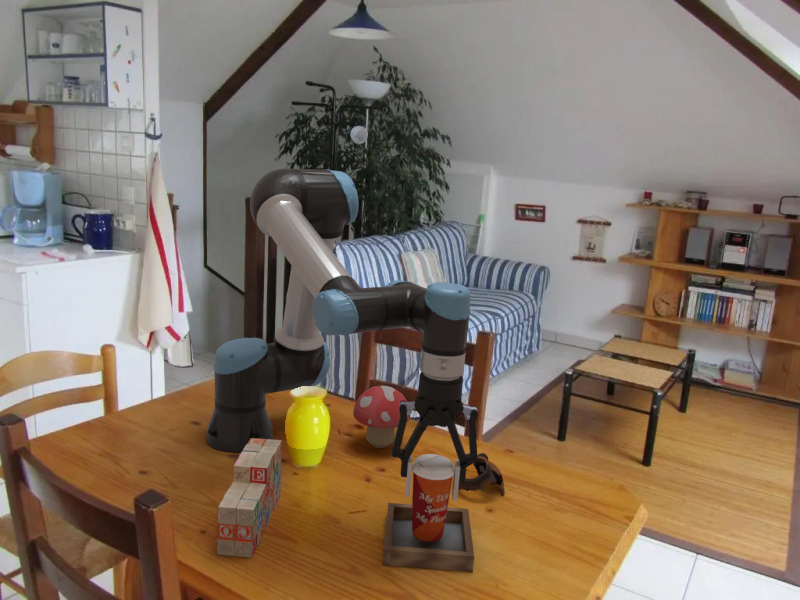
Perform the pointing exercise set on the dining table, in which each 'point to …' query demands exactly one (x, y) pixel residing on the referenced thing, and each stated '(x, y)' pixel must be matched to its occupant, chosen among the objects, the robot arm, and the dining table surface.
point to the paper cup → (430, 496)
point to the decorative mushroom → (379, 414)
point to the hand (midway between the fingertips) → (431, 494)
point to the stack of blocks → (250, 498)
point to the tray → (441, 554)
